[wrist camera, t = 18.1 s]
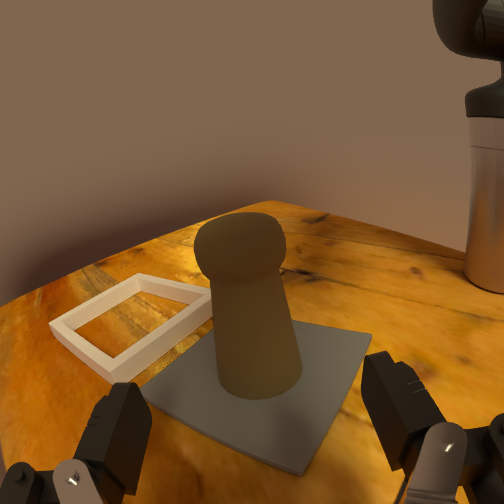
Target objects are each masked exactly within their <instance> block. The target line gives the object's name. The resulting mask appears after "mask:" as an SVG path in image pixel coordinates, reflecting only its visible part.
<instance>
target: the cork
mask: <svg viewBox="0 0 504 504" xmlns="http://www.w3.org/2000/svg"><path fill="white" fill-rule="evenodd" d="M194 253H195V257H196V261H197V263H198V266H199V268H200V270H201V272H202V274H203V275H205V276H206V277H207V278H208V279H209V280H210V289H211V303H212V315H213V328H214V339H215V351H216V361H217V371H218V378H219V381H220V384H221V386H222V387H223V388H224V389H225V390H226V391H227V392H228V393H230V394H232V395H234V396H236V397H238V398H242V399H248V400H261V399H269V398H272V397H275V396H278V395H281V394H283V393H284V392H286V391H288V390H289V389H291V388H292V387H293V386H294V385H295V384H296V383H297V381H298V380H299V379H300V377H301V374H302V370H303V367H302V361H301V357H300V353H299V349H298V344H297V340H296V336H295V332H294V328H293V324H292V320H291V316H290V312H289V308H288V304H287V300H286V296H285V292H284V288H283V284H282V280H281V276H280V272H279V268H280V266H281V264H282V263H283V261H284V259H285V254H286V240H285V236H284V233H283V230H282V227H281V225H280V224H279V223H278V221H277V220H276V219H275V218H273V217H272V216H269V215H267V214H264V213H254V212H243V213H234V214H229V215H225V216H222V217H219V218H216V219H213V220H211V221H209V222H207V223H206V224H204V225H203V226H202V227H201V228H200V229H199V230H198V232H197V235H196V238H195V240H194Z"/></svg>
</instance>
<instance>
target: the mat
mask: <svg viewBox="0 0 504 504" xmlns="http://www.w3.org/2000/svg"><path fill="white" fill-rule="evenodd" d="M292 324H293V328H294V332H295V336H296V340H297V344H298V349H299V353H300V357H301V361H302V367H303V370H302V374H301V377H300V379H299V380H298V381H297V383H296V384H295V385H294V386H293V387H292V388H291V389H289V390H288V391H286V392H284V393H283V394H281V395H278V396H275V397H272V398H269V399H261V400H248V399H242V398H238V397H236V396H234V395H232V394H230V393H228V392H227V391H226V390H225V389H224V388H223V387H222V386H221V384H220V381H219V378H218V371H217V361H216V351H215V339H214V328H213V329H212V330H211V331H210V332H208V333H207V334H206V335H205V336H204V337H202V338H201V339H200V340H199V341H198V342H196V343H195V344H194V345H193V346H191V347H190V348H189V349H188V350H187V351H185V352H184V353H183V354H182V355H181V356H179V357H178V358H177V359H176V360H174V361H173V362H172V363H171V364H170V365H168V366H167V367H166V368H165V369H163V370H162V371H161V372H160V373H158V374H157V375H156V376H155V377H153V378H152V379H151V380H150V381H148V382H147V383H146V384H145V385H143V386H142V387H141V388H140V391H141V393H142V395H143V397H144V399H145V401H147V402H148V403H150V404H151V405H153V406H154V407H156V408H158V409H159V410H161V411H163V412H164V413H166V414H168V415H169V416H171V417H173V418H174V419H176V420H178V421H180V422H181V423H183V424H185V425H187V426H188V427H190V428H192V429H194V430H196V431H198V432H200V433H201V434H203V435H205V436H207V437H209V438H211V439H213V440H215V441H217V442H219V443H221V444H223V445H225V446H227V447H229V448H232V449H234V450H236V451H238V452H240V453H243V454H245V455H247V456H249V457H252V458H254V459H256V460H259V461H261V462H263V463H266V464H268V465H271V466H273V467H276V468H279V469H281V470H284V471H287V472H289V473H292V474H295V475H298V476H302V475H303V473H304V471H305V470H306V468H307V467H308V465H309V463H310V462H311V460H312V458H313V457H314V455H315V453H316V452H317V450H318V448H319V446H320V445H321V443H322V441H323V439H324V438H325V436H326V434H327V432H328V430H329V428H330V427H331V425H332V423H333V421H334V419H335V417H336V415H337V413H338V411H339V409H340V407H341V405H342V403H343V401H344V399H345V397H346V395H347V393H348V391H349V389H350V387H351V385H352V383H353V381H354V379H355V376H356V374H357V372H358V370H359V367H360V365H361V363H362V361H363V358H364V356H365V354H366V351H367V349H368V347H369V344H370V342H371V339H372V334H368V333H362V332H356V331H350V330H344V329H338V328H332V327H327V326H321V325H316V324H311V323H305V322H300V321H295V320H292Z"/></svg>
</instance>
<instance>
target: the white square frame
mask: <svg viewBox="0 0 504 504" xmlns="http://www.w3.org/2000/svg"><path fill="white" fill-rule="evenodd" d="M140 291H143V292H146V293H149V294H153V295H156V296H160V297H163V298H167V299H170V300H174V301H177V302H181V303H185V304H188V305H189V306H188V307H186V308H185V309H183V310H182V311H181V312H179V313H178V314H176V315H175V316H174V317H172V318H171V319H169V320H168V321H166V322H165V323H164V324H162V325H161V326H159V327H158V328H156V329H155V330H154V331H152V332H151V333H149V334H148V335H146V336H145V337H144V338H142V339H141V340H139V341H138V342H137V343H135V344H134V345H132V346H131V347H129V348H128V349H127V350H125V351H124V352H122V353H121V354H119V355H118V356H116V357H115V358H114V359H113V358H111V357H110V356H108V355H107V354H105V353H104V352H102V351H101V350H99V349H98V348H96V347H95V346H93V345H92V344H91V343H89V342H88V341H86V340H85V339H83V338H82V337H81V336H79V335H78V334H77V333H75V332H74V330H76V329H77V328H79V327H81V326H82V325H84V324H86V323H87V322H89V321H91V320H92V319H94V318H96V317H97V316H99V315H101V314H102V313H104V312H106V311H107V310H109V309H111V308H112V307H114V306H116V305H118V304H119V303H121V302H123V301H124V300H126V299H128V298H129V297H131V296H133V295H134V294H136V293H138V292H140ZM212 316H213V315H212V303H211V289H210V288H205V287H200V286H195V285H190V284H186V283H181V282H176V281H172V280H167V279H163V278H158V277H154V276H149V275H145V274H141V273H138V274H136V275H134V276H132V277H130V278H128V279H126V280H125V281H123V282H121V283H119V284H117V285H115V286H114V287H112V288H110V289H108V290H106V291H104V292H103V293H101V294H99V295H97V296H95V297H94V298H92V299H90V300H88V301H86V302H85V303H83V304H81V305H79V306H78V307H76V308H74V309H72V310H71V311H69V312H67V313H65V314H63V315H62V316H60V317H58V318H57V319H55V320H53V321H51V322H50V323H49V325H50V328H51V330H52V332H53V334H54V336H55V337H56V338H57V339H58V340H59V341H60V342H61V343H62V344H63V345H64V346H65V347H67V348H68V349H69V350H70V351H71V352H72V353H73V354H75V355H76V356H77V357H78V358H79V359H81V360H82V361H83V362H84V363H85V364H87V365H88V366H89V367H90V368H91V369H93V370H94V371H95V372H97V373H98V374H99V375H100V376H102V377H103V378H104V379H106V380H107V381H108V382H109V383H111V384H112V385H113V384H114V383H116V382H129V381H130V380H131V379H133V378H134V377H135V376H137V375H138V374H139V373H141V372H142V371H143V370H145V369H146V368H147V367H148V366H150V365H151V364H152V363H154V362H155V361H156V360H157V359H159V358H160V357H161V356H163V355H164V354H165V353H166V352H168V351H169V350H170V349H172V348H173V347H174V346H175V345H177V344H178V343H179V342H181V341H182V340H183V339H184V338H186V337H187V336H188V335H189V334H191V333H192V332H193V331H195V330H196V329H197V328H198V327H200V326H201V325H202V324H203V323H205V322H206V321H207V320H208V319H210V318H211V317H212Z"/></svg>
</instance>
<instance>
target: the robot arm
mask: <svg viewBox="0 0 504 504" xmlns="http://www.w3.org/2000/svg"><path fill="white" fill-rule="evenodd" d="M433 17H434V23H435V27H436V30H437V33H438V35H439V37H440V39H441V41H442V42H443V43H444V45H445V46H446V47H447V48H448V49H449V50H451V51H452V52H454V53H456V54H459V55H463V56H466V57H471V58H480V59H488V60H495V61H500V63H501V78H500V79H499V80H498V81H496V82H495V83H493V84H490V85H486V86H483V87H479V88H477V89H473V90H471V91H469V92H468V93H467V94H466V96H465V107H466V116H467V117H468V118H467V125H468V138H469V145H470V146H469V153H470V205H469V222H468V235H467V245H466V253H465V261H464V269H463V270H464V274H465V276H466V277H467V278H468V279H469V280H470V281H471V282H473V283H474V284H476V285H478V286H479V287H481V288H484V289H487V290H489V291H493V292H498V293H504V0H433ZM361 394H362V399H363V402H364V404H365V407H366V409H367V411H368V414H369V416H370V418H371V421H372V423H373V426H374V428H375V430H376V433H377V435H378V438H379V440H380V442H381V445H382V447H383V450H384V452H385V455H386V457H387V460H388V462H389V465H390V467H391V470H392V472H393V471H395V470H398V469H401V468H402V469H403V471H404V474H405V476H404V478H403V481H402V483H401V486H400V488H399V491H398V493H397V495H396V498H395V500H394V502H393V504H458V502H457V501H455V495H456V491H457V488H458V486H463V488H464V491H465V493H466V496H467V498H468V501H469V503H470V504H504V413H502V414H499V415H498V416H496V417H495V418H494V419H493V420H492V422H491V424H490V425H489V426H485V427H479V428H473V429H463V428H462V427H461V426H459V425H457V424H455V423H452V422H447V421H446V419H445V418H444V416H443V415H442V413H441V412H440V410H439V408H438V407H437V405H436V404H435V402H434V400H433V399H432V397H431V396H430V394H429V393H428V391H427V389H426V390H425V386H424V385H423V383H422V382H421V381H420V379H419V377H418V376H417V374H416V373H415V371H414V370H413V368H411V367H410V366H408V365H407V364H405V363H404V362H402V361H400V362H397V363H394V361H393V360H392V358H391V356H390V355H389V353H388V352H387V351H382V352H378V353H374V354H370V355H366V356H365V358H364V364H363V373H362V381H361ZM151 425H152V416H151V411H150V409H149V407H148V405H147V403H146V401H145V399H144V397H143V395H142V393H141V391H140V389H139V387H138V385H137V384H136V383H134V382H116V383H114V384H113V386H112V389H111V391H110V393H109V396H103V397H102V399H101V400H100V401H99V402H98V403H97V404H96V405H95V407H94V409H93V412H92V414H91V418H89V421H88V423H87V426H86V428H85V430H84V432H83V435H82V437H81V440H80V442H79V444H78V447H77V449H76V452H75V454H74V457H73V459H68V460H65V461H63V462H61V463H60V464H59V465H57V467H56V468H55V470H51V471H35V470H34V469H33V468H32V467H31V466H30V465H29V464H28V463H25V462H18V463H15V464H13V465H12V466H11V467H10V468H9V469H8V471H7V473H6V475H5V478H4V480H3V483H2V486H1V488H0V504H124V502H123V496H124V494H127V495H134V496H135V495H136V490H137V485H138V481H139V476H140V472H141V467H142V463H143V459H144V454H145V450H146V446H147V442H148V438H149V433H150V429H151Z"/></svg>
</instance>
